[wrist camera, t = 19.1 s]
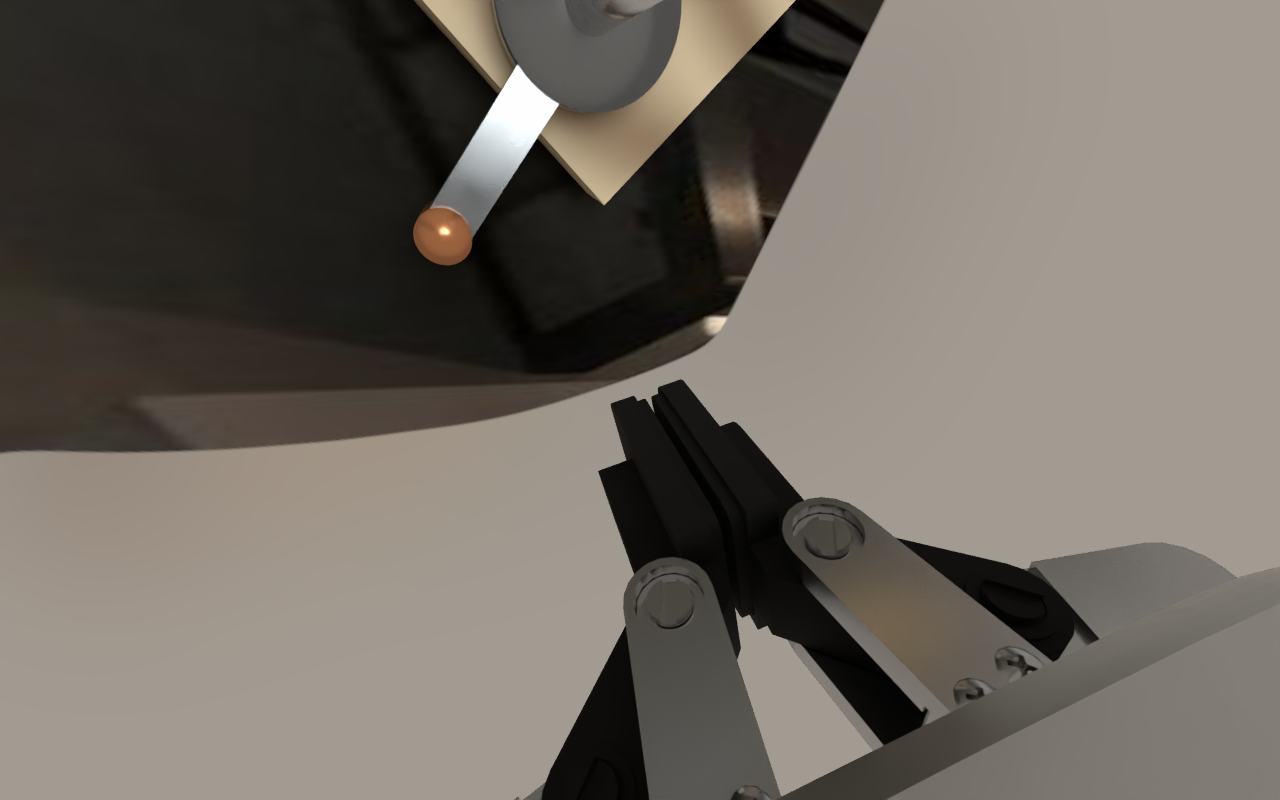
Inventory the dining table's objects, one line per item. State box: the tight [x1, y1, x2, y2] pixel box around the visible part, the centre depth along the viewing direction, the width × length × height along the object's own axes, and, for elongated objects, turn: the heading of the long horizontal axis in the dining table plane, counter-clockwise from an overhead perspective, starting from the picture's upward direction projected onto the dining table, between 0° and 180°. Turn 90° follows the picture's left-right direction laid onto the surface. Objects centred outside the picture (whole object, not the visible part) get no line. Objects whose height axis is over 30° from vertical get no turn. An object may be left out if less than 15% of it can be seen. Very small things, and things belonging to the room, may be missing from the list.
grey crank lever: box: [413, 0, 682, 265], centre depth 19 cm, size 8×17×11 cm, turn 140°
